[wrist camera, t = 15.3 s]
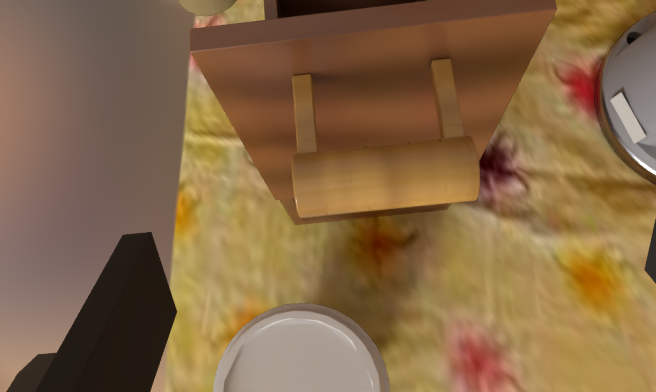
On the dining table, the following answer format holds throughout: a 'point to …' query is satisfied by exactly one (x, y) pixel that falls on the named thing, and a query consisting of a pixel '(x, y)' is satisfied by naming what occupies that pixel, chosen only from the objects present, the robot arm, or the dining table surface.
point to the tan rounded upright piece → (206, 6)
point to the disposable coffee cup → (301, 354)
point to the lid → (372, 97)
